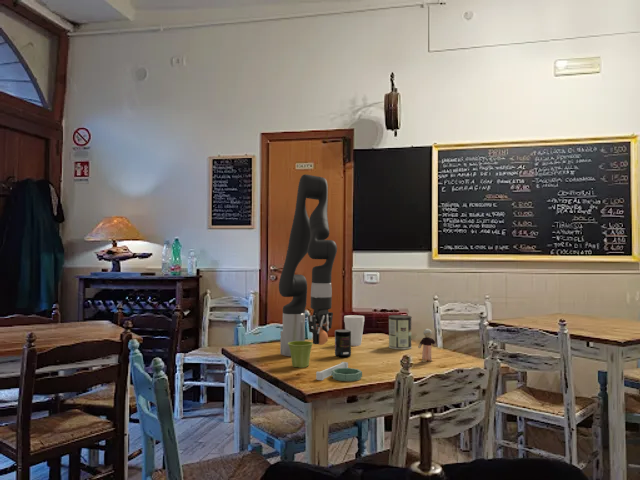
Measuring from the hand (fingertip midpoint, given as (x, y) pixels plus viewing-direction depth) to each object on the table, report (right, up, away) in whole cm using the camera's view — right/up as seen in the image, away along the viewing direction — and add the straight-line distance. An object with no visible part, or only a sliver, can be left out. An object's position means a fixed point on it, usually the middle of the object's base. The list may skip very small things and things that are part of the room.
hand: (320, 342), depth 181 cm
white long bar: (+4, -10, -5) cm, 12 cm away
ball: (0, +2, 0) cm, 2 cm away
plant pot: (-7, -11, +8) cm, 15 cm away
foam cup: (+16, -12, +54) cm, 58 cm away
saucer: (+9, -10, -10) cm, 17 cm away
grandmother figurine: (+42, -11, +18) cm, 47 cm away
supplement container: (+9, -11, +27) cm, 31 cm away
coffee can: (+36, -12, +47) cm, 61 cm away
